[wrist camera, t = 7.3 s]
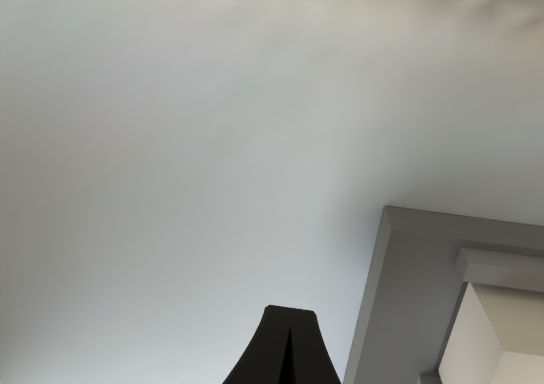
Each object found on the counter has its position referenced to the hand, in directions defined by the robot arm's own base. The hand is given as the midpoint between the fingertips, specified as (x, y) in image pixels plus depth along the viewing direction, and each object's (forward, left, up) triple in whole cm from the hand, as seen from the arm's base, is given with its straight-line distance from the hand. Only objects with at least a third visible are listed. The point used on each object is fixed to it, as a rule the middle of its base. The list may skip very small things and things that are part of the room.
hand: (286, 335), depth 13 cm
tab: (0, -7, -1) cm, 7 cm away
